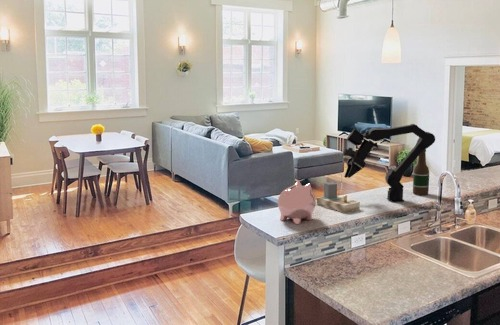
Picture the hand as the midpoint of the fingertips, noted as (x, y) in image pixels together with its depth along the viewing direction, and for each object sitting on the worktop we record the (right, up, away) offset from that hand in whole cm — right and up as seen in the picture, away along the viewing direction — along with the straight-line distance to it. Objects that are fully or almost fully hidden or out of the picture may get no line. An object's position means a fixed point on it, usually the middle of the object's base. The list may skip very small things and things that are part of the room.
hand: (346, 177), depth 236 cm
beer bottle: (+42, -9, +15) cm, 46 cm away
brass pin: (-3, -11, -11) cm, 16 cm away
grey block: (-9, -10, -3) cm, 13 cm away
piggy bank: (-27, -18, -24) cm, 40 cm away
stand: (-6, -14, -6) cm, 16 cm away
